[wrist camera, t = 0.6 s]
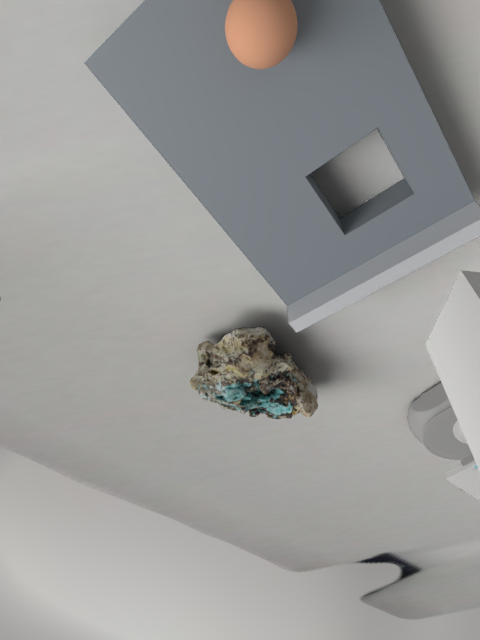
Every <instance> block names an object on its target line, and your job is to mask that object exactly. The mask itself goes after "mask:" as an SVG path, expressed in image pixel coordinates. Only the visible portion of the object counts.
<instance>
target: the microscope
mask: <svg viewBox="0 0 480 640" xmlns="http://www.w3.org/2000/svg"><path fill="white" fill-rule="evenodd" d="M407 418H408V425H409V428H410V430H411V432H412V433H413V435H414V436H415V437H416V438H417V439H418V440H419V441H420V442H421V443H422V444H424V445H425V447H426V448H427V449H428V450H429V451H430V452H431V453H433V454H435V455H437V456H439V457H442V458H447V459H456V460H461V459H463V460H461V463H462V464H461V465H459V466H457V467H455V468H453V469H451V470H449V471H447V472H445V473H444V476H445V479H446V480H448V481H449V482H451V483H452V484H454V485H456V486H457V487H459V488H460V489H461V490H463V491H465V492H467V493H468V494H470V495H471V496H473V497H474V498H476V499H478V500H479V501H480V471H479V469H478V466H477V464H476V462H475V459H474V457H473V455H472V452H471V450H470V448H469V445H468V443H467V441H466V438H465V436H464V434H463V431H462V429H461V427H460V424H459V422H458V420H457V417H456V415H455V413H454V410H453V408H452V406H451V403H450V401H449V399H448V396H447V394H446V392H445V389H444V387H443V385H442V382H441V383H439V384H438V385H436V386H435V387H433V388H431V389H430V390H428V391H427V392H424V393H422V394H421V395H420V397H419V398H418V399H416V400H415V401H414V402H412V403H411V405H410V407H409V410H408V416H407Z"/></svg>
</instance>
